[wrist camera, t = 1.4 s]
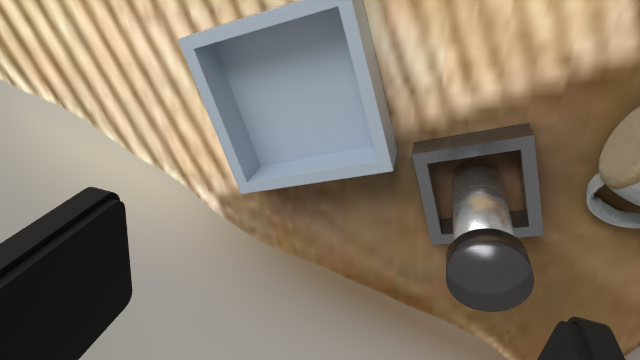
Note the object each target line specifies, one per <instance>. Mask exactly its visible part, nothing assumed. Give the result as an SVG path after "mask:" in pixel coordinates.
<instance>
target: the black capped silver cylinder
mask: <svg viewBox="0 0 640 360" xmlns="http://www.w3.org/2000/svg"><path fill="white" fill-rule="evenodd" d="M452 193H453V238H454V241H453V242H452V243H451V245H450V246H449V248H448V250H447V254H446V283H447V286H448V289H449V291H450V292H451V294H452V295H453V296H454V297H455V298H456V299H457V300H458V301H459V302H461V303H462V304H464V305H466V306H468V307H470V308H472V309H476V310H480V311H487V312H497V311H504V310H508V309H511V308H513V307H516V306H517V305H519V304H521V303H522V302H523V301H525V300H526V299H527V297H528V296H529V295H530V293H531V292H532V289H533V286H534V276H533V272H532V268H531V264H530V260H529V256H528V253H527V250H526V248H525V246H524V245H523V244H522V242H521V241H520V240H519V239H517V238H516V237H515V235H514V230H513V226H512V222H511V217H510V213H509V209H508V204H507V200H506V196H505V191H504V187H503V183H502V178H501V174H500V172H499V170H498V169H497V168H496V167H495V166H494V165H493V164H491V163H489V162H487V161H483V160H472V161H468V162H466V163H464V164H462V165H461V166H459V167H458V168H457V169H456V171H455V172H454V175H453V178H452Z"/></svg>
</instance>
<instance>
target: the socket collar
mask: <svg viewBox="0 0 640 360" xmlns="http://www.w3.org/2000/svg"><path fill="white" fill-rule="evenodd" d="M515 150H518V156H519V165H520V174H521V183H522V192H523V202H524V211H516V212H509V213H510V217H511V222H512V226H513V230H514V235H515V237H516V238H521V237H533V236H544V234H543V223H542V212H541V202H540V191H539V180H538V169H537V158H536V148H535V137H534V133H533V131H532V129H531V127H530V124H529V123H526V124H520V125H514V126H509V127H503V128H497V129H491V130H485V131H479V132H473V133H467V134H461V135H456V136H450V137H444V138H438V139H432V140H426V141H420V142H414V146H413V152H412V157H413V161H414V166H415V170H416V175H417V179H418V184H419V189H420V193H421V198H422V202H423V207H424V211H425V216H426V221H427V225H428V230H429V234H430V239H431V243H432V245H440V244H451V243H452V242H453V241H454V238H453V218H450V219H442V218H441V213H440V208H439V203H438V198H437V193H436V188H435V183H434V178H433V174H432V169H431V164H430V163H435V162H442V161H449V160H455V159H462V158H468V157H475V156H482V155H488V154H495V153H501V152H508V151H515Z"/></svg>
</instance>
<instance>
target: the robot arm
mask: <svg viewBox="0 0 640 360" xmlns="http://www.w3.org/2000/svg"><path fill="white" fill-rule="evenodd" d="M131 296H132V282H131V270H130V259H129V247H128V236H127V225H126V213H125V206H124V203H123V202H121V201H120V198H119V196H118V195H117V194H116V193H113V192H110V191H106V190H102V189H98V188H95V187H88V188H86V189H84V190H83V191H81V192H80V193H78V194H76V195H75V196H73V197H72V198H70V199H69V200H67V201H66V202H64V203H63V204H61V205H59V206H58V207H56V208H55V209H53V210H52V211H50V212H49V213H47V214H45V215H44V216H42V217H41V218H39V219H38V220H36V221H35V222H33V223H31V224H30V225H28V226H27V227H25V228H24V229H22V230H21V231H19V232H18V233H16V234H15V235H13V236H12V237H10V238H8V239H7V240H5V241H4V242H2V243H0V360H78V359H79V358H80V357H81V356H82V355H83V354H84V353H85V352H86V351H87V349H88V348H89V347H90V346H91V345H92V344H93V343H94V342H95V341H96V340H97V338H98V337H99V336H100V335H101V334H102V333H103V332H104V331H105V330H106V328H107V327H108V326H109V325H110V324H111V323H112V322H113V321H114V320H115V318H116V317H117V316H118V315H119V314H120V313H121V312H122V311H123V310H124V309H125V307H126V306H127V305H128V303H129V301H130V299H131ZM537 360H625V358H624V356H623V354H622V351H621V349H620V347H619V345H618V343H617V341H616V339H615V337H614V334H613V332H612V331H611V329H610V328H609V327H608V326H607V325H605V324H601V323H597V322H594V321H590V320H586V319H582V318H579V317H572V318H570V319H569V320H568V322H564V321H561V322H559V323H558V324H557V326H556V327H555V329H554V331H553V333H552V334H551V336H550V338H549V340H548V341H547V343H546V345H545V347H544V348H543V350H542V352H541V354H540V355H539V357H538V359H537Z"/></svg>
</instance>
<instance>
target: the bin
mask: <svg viewBox="0 0 640 360" xmlns="http://www.w3.org/2000/svg"><path fill="white" fill-rule="evenodd" d="M178 41H179V44H180V46H181V49H182V51H183V53H184V56H185V58H186V61H187V63H188V66H189V68H190V70H191V73H192V75H193V78H194V80H195V83H196V85H197V87H198V90H199V92H200V95H201V97H202V100H203V102H204V105H205V107H206V109H207V112H208V114H209V117H210V119H211V122H212V124H213V126H214V129H215V131H216V134H217V136H218V139H219V141H220V144H221V146H222V148H223V151H224V153H225V156H226V158H227V161H228V163H229V165H230V168H231V170H232V173H233V175H234V178H235V180H236V182H237V185H238V187H239V190H240V192H241V194H244V193H251V192H257V191H264V190H271V189H277V188H284V187H291V186H298V185H304V184H311V183H318V182H324V181H331V180H338V179H344V178H351V177H358V176H364V175H371V174H378V173H385V172H391V171H393V170H394V165H395V161H396V157H397V153H398V149H397V144H396V140H395V136H394V132H393V127H392V123H391V119H390V114H389V110H388V106H387V102H386V97H385V93H384V89H383V84H382V80H381V76H380V71H379V67H378V63H377V59H376V54H375V50H374V46H373V41H372V37H371V33H370V29H369V24H368V20H367V16H366V11H365V7H364V3H363V0H298V1H295V2H292V3H289V4H286V5H282V6H279V7H276V8H273V9H270V10H266V11H263V12H260V13H257V14H253V15H250V16H247V17H244V18H241V19H237V20H234V21H231V22H228V23H225V24H221V25H218V26H215V27H212V28H209V29H205V30H202V31H199V32H197V33H194V34H191V35H188V36H186V37H183V38H180V39H178Z"/></svg>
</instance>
